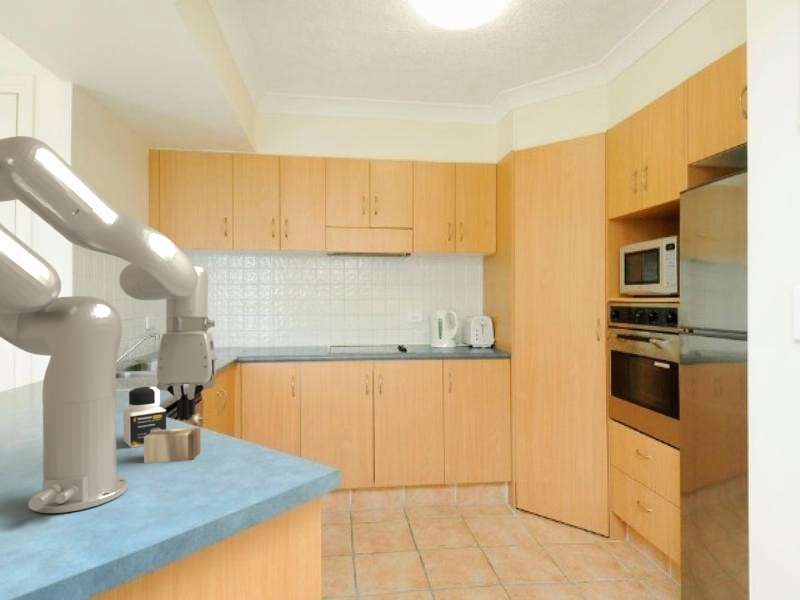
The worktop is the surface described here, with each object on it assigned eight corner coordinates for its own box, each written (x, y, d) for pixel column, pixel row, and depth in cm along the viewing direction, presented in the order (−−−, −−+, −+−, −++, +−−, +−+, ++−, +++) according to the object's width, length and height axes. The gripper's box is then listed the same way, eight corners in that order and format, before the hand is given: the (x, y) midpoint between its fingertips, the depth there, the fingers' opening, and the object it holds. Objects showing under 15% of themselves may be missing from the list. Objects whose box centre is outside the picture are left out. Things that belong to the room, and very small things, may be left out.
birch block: (193, 434, 90) (143, 437, 89) (193, 460, 90) (144, 463, 89) (200, 427, 95) (153, 430, 94) (200, 452, 95) (153, 454, 94)
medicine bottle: (130, 448, 98) (129, 392, 99) (123, 441, 104) (122, 387, 104) (166, 441, 103) (166, 387, 103) (158, 435, 108) (157, 383, 109)
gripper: (229, 325, 98) (229, 413, 97) (154, 326, 95) (152, 416, 95) (221, 326, 90) (220, 421, 89) (139, 327, 88) (137, 424, 87)
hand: (185, 418), depth 92 cm, fingers closed
